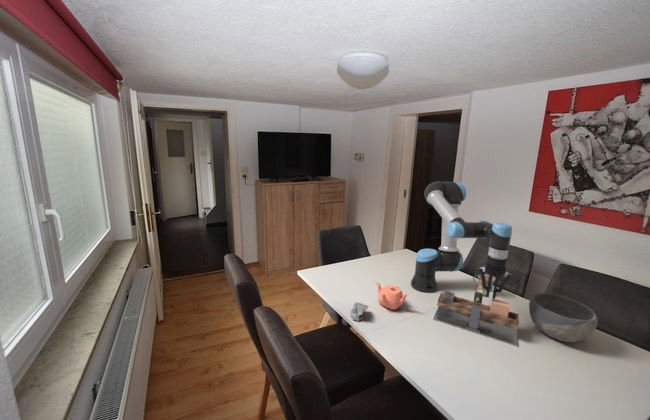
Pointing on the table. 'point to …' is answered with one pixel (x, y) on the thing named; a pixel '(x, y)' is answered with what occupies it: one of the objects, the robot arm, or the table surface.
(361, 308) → the mineral specimen
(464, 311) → the beam
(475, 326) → the stand
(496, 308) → the block
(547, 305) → the bowl
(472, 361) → the table surface
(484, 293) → the mug
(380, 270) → the table surface
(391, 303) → the teapot
